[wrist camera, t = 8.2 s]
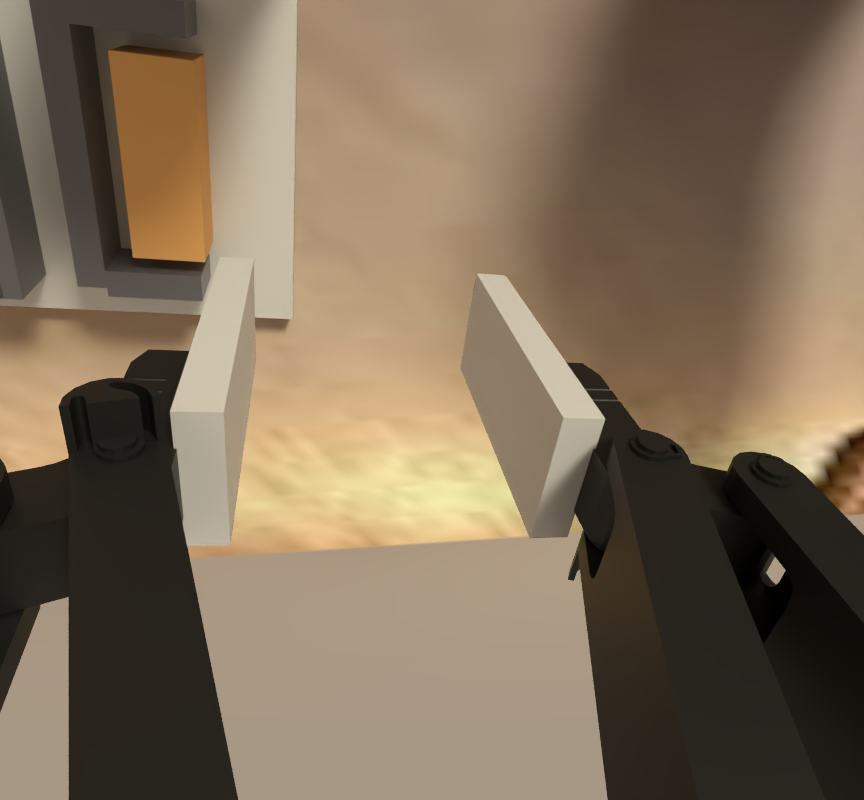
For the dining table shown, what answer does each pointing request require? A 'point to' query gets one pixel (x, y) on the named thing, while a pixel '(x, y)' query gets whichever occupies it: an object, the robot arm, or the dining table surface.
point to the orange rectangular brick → (164, 151)
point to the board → (101, 160)
